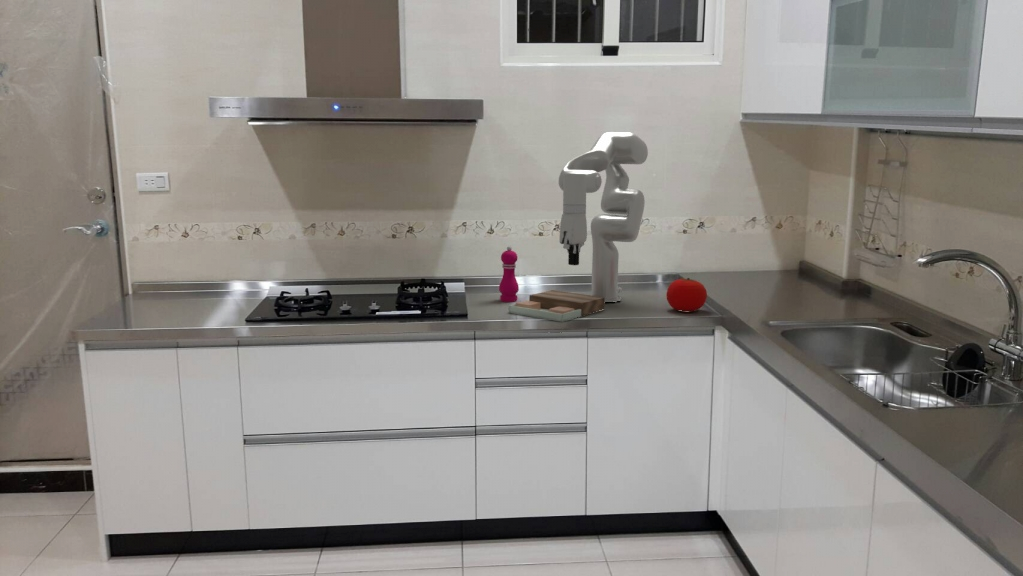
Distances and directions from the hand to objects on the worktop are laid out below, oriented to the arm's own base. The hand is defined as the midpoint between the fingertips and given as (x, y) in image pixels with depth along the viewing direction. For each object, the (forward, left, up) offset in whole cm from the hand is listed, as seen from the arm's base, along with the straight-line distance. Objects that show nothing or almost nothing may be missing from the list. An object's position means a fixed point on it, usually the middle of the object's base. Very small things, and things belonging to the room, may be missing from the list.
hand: (573, 264), depth 266 cm
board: (-7, -7, -17) cm, 19 cm away
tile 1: (+6, -14, -14) cm, 21 cm away
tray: (+6, -7, -17) cm, 19 cm away
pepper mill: (-6, -32, -17) cm, 37 cm away
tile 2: (+7, 0, -14) cm, 16 cm away
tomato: (-32, +26, -17) cm, 44 cm away
